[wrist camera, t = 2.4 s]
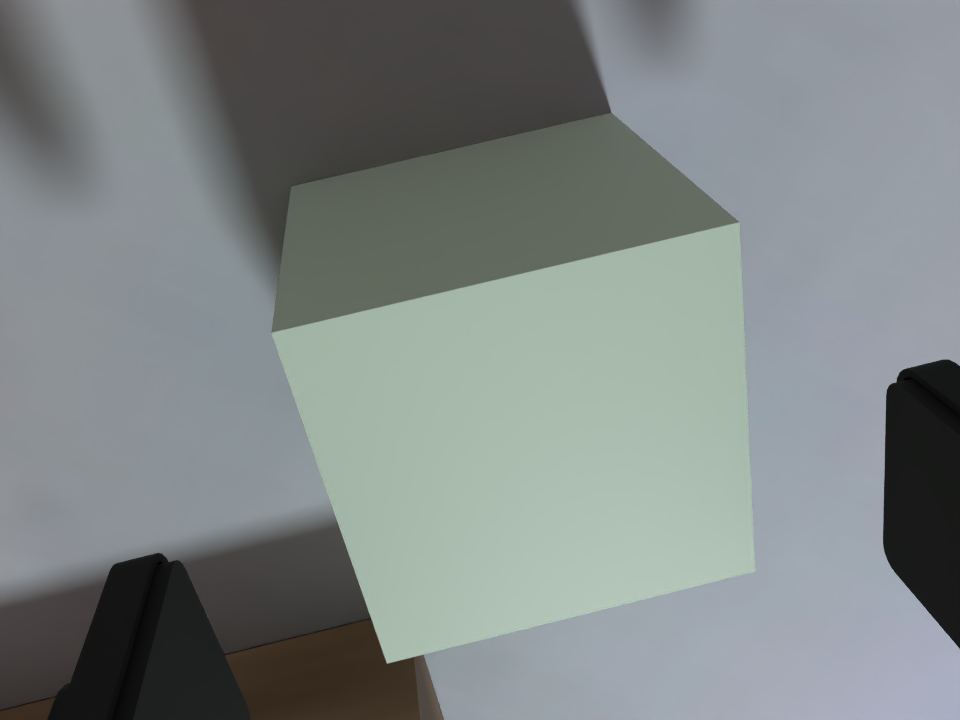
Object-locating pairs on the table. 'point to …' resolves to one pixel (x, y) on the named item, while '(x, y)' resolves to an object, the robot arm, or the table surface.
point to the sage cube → (520, 380)
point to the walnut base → (319, 680)
